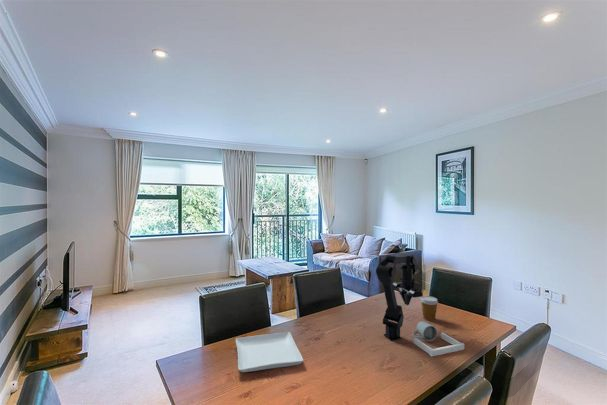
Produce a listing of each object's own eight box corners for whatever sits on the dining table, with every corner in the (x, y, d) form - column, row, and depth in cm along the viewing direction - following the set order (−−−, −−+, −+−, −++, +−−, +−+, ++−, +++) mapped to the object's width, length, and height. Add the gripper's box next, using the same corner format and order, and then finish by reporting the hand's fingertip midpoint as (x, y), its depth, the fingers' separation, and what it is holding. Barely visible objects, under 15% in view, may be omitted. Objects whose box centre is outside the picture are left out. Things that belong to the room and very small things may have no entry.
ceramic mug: (428, 333, 155) (428, 318, 154) (437, 340, 147) (437, 325, 146) (409, 335, 153) (409, 320, 153) (417, 342, 145) (417, 327, 145)
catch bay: (431, 356, 132) (431, 351, 132) (412, 343, 144) (412, 338, 144) (464, 349, 138) (464, 344, 138) (443, 337, 150) (443, 332, 150)
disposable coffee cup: (435, 323, 166) (435, 302, 166) (418, 319, 172) (418, 299, 172) (439, 318, 174) (439, 298, 173) (422, 314, 179) (423, 294, 179)
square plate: (238, 379, 117) (238, 369, 117) (235, 345, 143) (235, 337, 143) (304, 368, 124) (304, 359, 124) (289, 338, 150) (289, 330, 150)
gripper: (431, 279, 156) (431, 309, 156) (408, 271, 174) (407, 297, 174) (413, 281, 152) (413, 311, 153) (392, 273, 170) (391, 299, 170)
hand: (406, 304), depth 163 cm, fingers closed
